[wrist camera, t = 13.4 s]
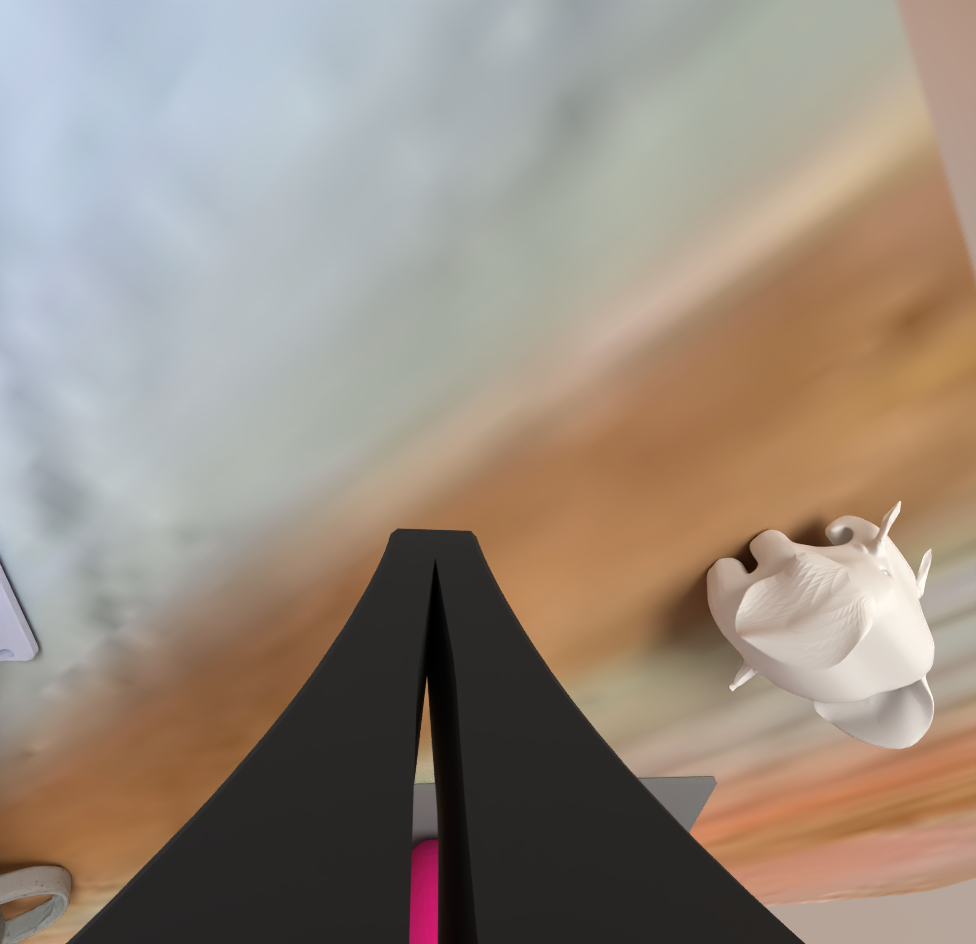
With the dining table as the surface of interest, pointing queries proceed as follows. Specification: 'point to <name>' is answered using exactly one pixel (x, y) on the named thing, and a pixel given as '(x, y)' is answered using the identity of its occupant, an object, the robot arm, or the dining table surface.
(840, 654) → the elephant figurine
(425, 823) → the mat
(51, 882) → the ceramic mug
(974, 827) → the dining table surface
